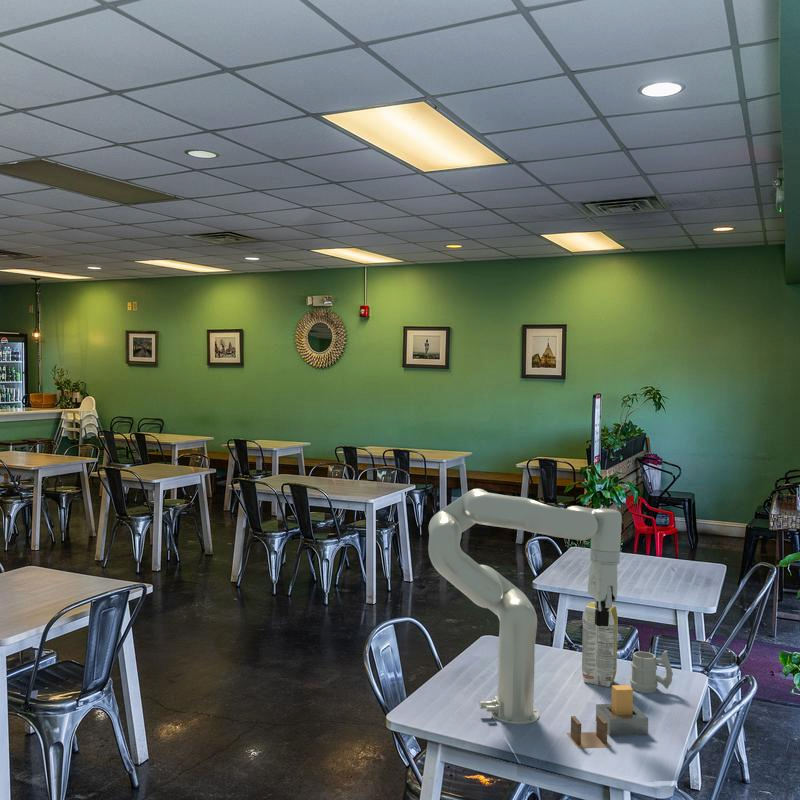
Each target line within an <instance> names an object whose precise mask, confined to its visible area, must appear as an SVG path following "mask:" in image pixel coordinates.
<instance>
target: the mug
mask: <svg viewBox="0 0 800 800" xmlns="http://www.w3.org/2000/svg"><path fill="white" fill-rule="evenodd" d="M669 659H670V658H669V657H668V650H664V651H663V652H662V654H661V656H660V657H656V655H655V654H653V653H651V652H649V651H635V652H633V654H632V662H631V663H630V665H631V677H630V679H629V683H630V687H631V688H632V689H633V691H636V692H638V693H641V692H642V693H643V694H654V693H655V692H656V691H657V688H658V683H660V684H661V685H662V686H663V687H664V688H665V689H669V687H670V685H672V682H673V675H674V673H673V669H672V665H671V662H670V660H669ZM657 663H660V664H662V665H663V667H664V668H665V670H666V671H665V672H666V673H665V676H663V677H661V676H660V675H657V670H658V665H657Z"/></svg>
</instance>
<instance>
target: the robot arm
mask: <svg viewBox="0 0 800 800" xmlns="http://www.w3.org/2000/svg"><path fill="white" fill-rule="evenodd" d="M622 517H623V516H622V513H621V511H619V510H617V509H612V508H603V507H602V508H590V507H586V506H580V505H570V506H567V508H561V507H557V506H553V505H548V504H545V503H542V502H539V501H538V500H535V499H532V498H528V497H524V496H523V497H521V496H513V495H507V494H505V495H504V494H499V493H495V492H494V493H493V492H488V491H487V490H484V489H482V488H473V489H471V490H469V491H466V493H464V494H462V495H461V496H460V497H459V498H457V499H456V500H454V501H453V502H451V503H449V504H448V505H446V506H445V507H444V508H442V509H441V510H439V511H438V512H437V513H435V514H434V515H433V516H432V517H431V518H430V521H429V524H428V534H429V536H428V547H427V549H428V557H429V559H430V562H431V565H432V566H433V567H434V569H435V570H436V572H437V573H439V574H440V575H441V576H442V577H443V578H444V579H445V580H447V581H448V582H449V583H450V584H451V585H453V586H454V588H456V589H458V591H460V592H461V593H462V594H464V596H466V597H467V598H468V599H469V600H470V601H472V602H473V604H475V605H477V606H478V607H481V608H483V609H488V610H490V611H491V612H492V613H493V614H494V615H496V616H497V617H498V620H499V632H498V633H499V634H498V647H497V649H498V650H497V651H498V652H497V655H498V656H497V695H494V698H493V699H490V700H488V701H487V700H480V701H478V702H479V709H481V710H482V709H483V710H484V709H485V710H486V713H487V712H488V713H489V712H490V714H491V717H492V718H493V719H494V720H495V721H497V720H498V721H499V722H503V723H506V724H510V725H521V726H522V725H529V724H533V723H535V722H537V721H538V720H539V719H540V712H539V711H538V710H537V709H536V708H535V707H534V705H535V702H534V700H535V699H534V698H535V662H536V661H535V659H536V657H535V653H536V650H535V649H536V638H537V637H536V636H537V630H538V628H537V627H538V616H537V613H536V612H537V611H536V609H535V607H534V605H533V604H532V602H531V601H530V600H529V598H528V597H527V595H526V594H525V593H524V592H523V591H522V590H520V589H519V587H517V586H515V585H514V584H513V583H512V582H511V581H510V580H508V579H507V578H505V577H504V576H503V575H502V574H500V572H498V571H497V570H495V569H494V568H493V567H492V566H488V565H486V564H479V563H478V562H477V561H475V560H474V559H473V558H472V557H471V556H470V555H468V554H467V553H465V552H464V551H463V550H462V548H461V539H462V533H463V532H465V531H467V530H468V529H470V528H471V527H472V526H474V525H475V524H478V525H484V526H491V527H499V528H504V529H505V528H506V529H512V530H513V529H514V530H519V531H526V532H530V533H534V534H541V535H546V536H550V537H555V538H563V539H569V540H576V541H585V540H587V541H588V540H590V555H589V561H590V564H589V571H588V572H589V573H588V579H587V580H588V581H587V582H588V584H587V593H588V594H589V595H590V596H591V597H592V598H593V599H594V602H595V608H596V609H595V624H596V625H597V626H608V625H609V611H610V608H612V605H613V603H614V602H616V601H617V598H618V565H619V564H620V561H621V560H620V557H621V539H622V523H623V521H622V520H623V518H622Z"/></svg>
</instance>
